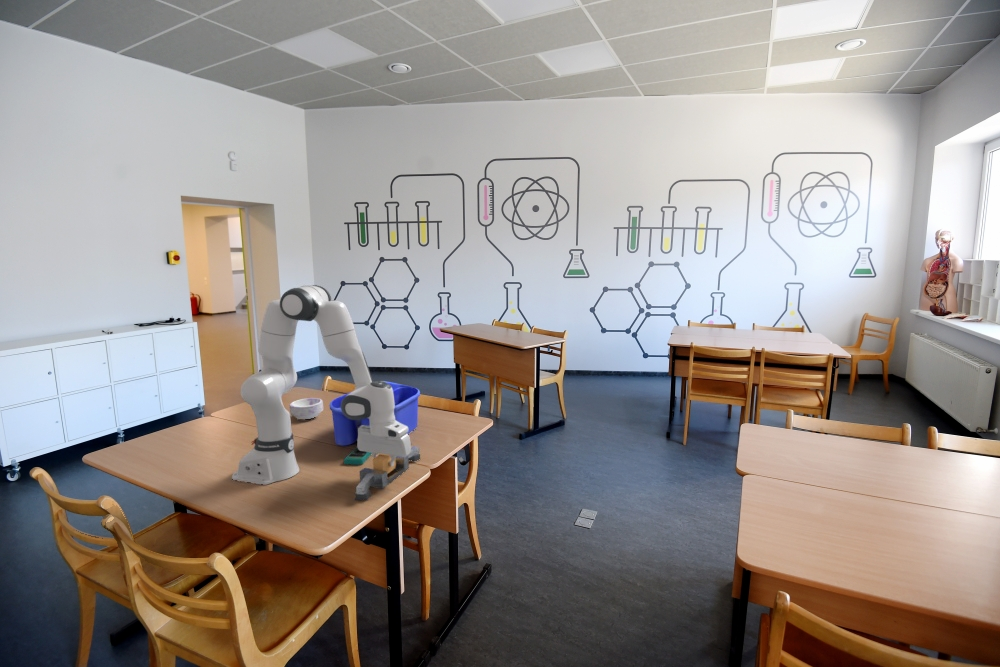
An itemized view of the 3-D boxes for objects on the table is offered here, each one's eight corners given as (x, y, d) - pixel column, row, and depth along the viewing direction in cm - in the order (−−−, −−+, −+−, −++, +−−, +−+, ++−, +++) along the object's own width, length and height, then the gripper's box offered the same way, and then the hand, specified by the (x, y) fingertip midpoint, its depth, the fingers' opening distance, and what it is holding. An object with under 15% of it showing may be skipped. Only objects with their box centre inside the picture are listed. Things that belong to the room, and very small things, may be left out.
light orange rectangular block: (383, 476, 174) (382, 460, 173) (373, 475, 176) (372, 458, 175) (395, 467, 182) (395, 451, 181) (386, 466, 183) (385, 450, 182)
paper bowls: (283, 421, 242) (282, 405, 240) (304, 411, 256) (303, 396, 255) (310, 423, 237) (309, 407, 236) (330, 414, 252) (329, 398, 250)
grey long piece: (365, 502, 160) (364, 487, 160) (341, 498, 163) (340, 483, 163) (422, 458, 194) (421, 446, 194) (402, 455, 198) (401, 443, 197)
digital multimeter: (376, 451, 204) (376, 444, 203) (362, 466, 189) (361, 458, 189) (359, 450, 205) (358, 443, 204) (343, 465, 190) (343, 458, 190)
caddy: (432, 420, 239) (430, 372, 236) (384, 456, 197) (381, 398, 194) (374, 415, 249) (371, 369, 245) (316, 448, 206) (312, 393, 203)
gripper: (352, 427, 177) (354, 464, 179) (403, 433, 170) (404, 472, 172) (363, 421, 183) (365, 457, 185) (412, 427, 176) (414, 465, 178)
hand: (384, 464), depth 178 cm, fingers closed on light orange rectangular block, 4 cm apart
